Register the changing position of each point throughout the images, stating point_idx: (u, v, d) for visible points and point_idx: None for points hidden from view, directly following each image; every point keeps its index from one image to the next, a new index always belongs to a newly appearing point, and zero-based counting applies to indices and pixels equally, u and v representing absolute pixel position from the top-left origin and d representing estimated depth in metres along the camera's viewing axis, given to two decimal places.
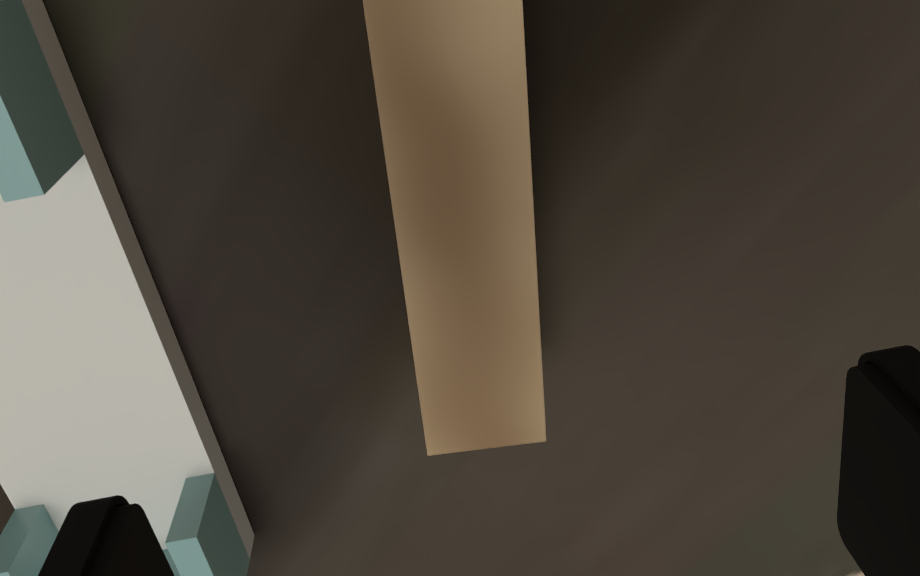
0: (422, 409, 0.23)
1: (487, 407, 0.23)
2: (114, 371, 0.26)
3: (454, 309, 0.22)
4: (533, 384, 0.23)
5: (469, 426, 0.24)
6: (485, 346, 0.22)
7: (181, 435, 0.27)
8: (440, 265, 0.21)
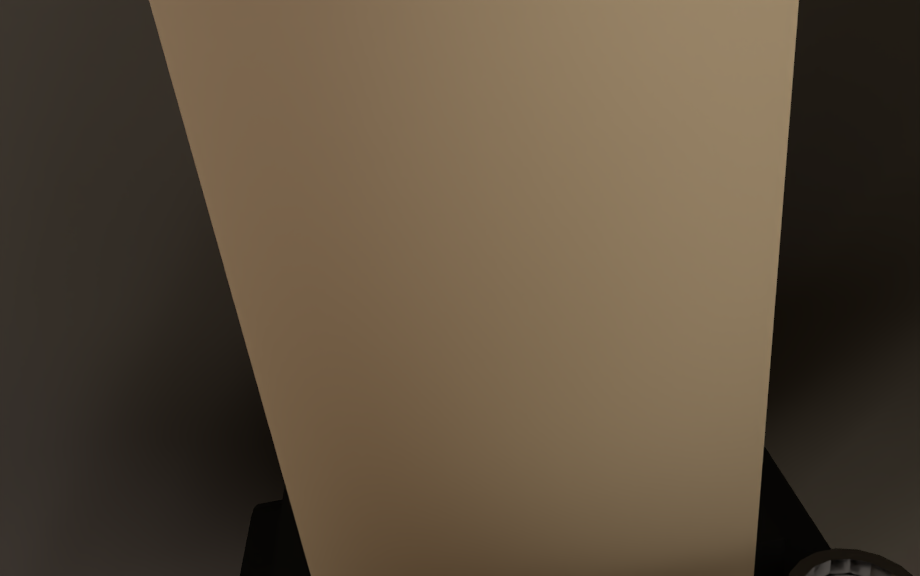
0: None
1: None
2: None
3: None
4: None
5: None
6: None
7: None
8: None
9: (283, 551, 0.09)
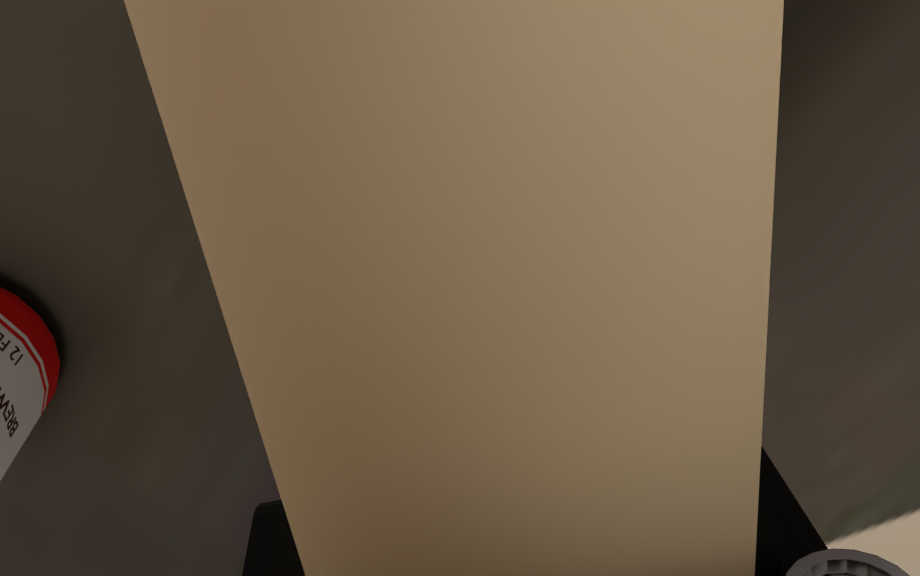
0: None
1: None
2: None
3: None
4: None
5: None
6: None
7: None
8: None
9: (285, 550, 0.09)
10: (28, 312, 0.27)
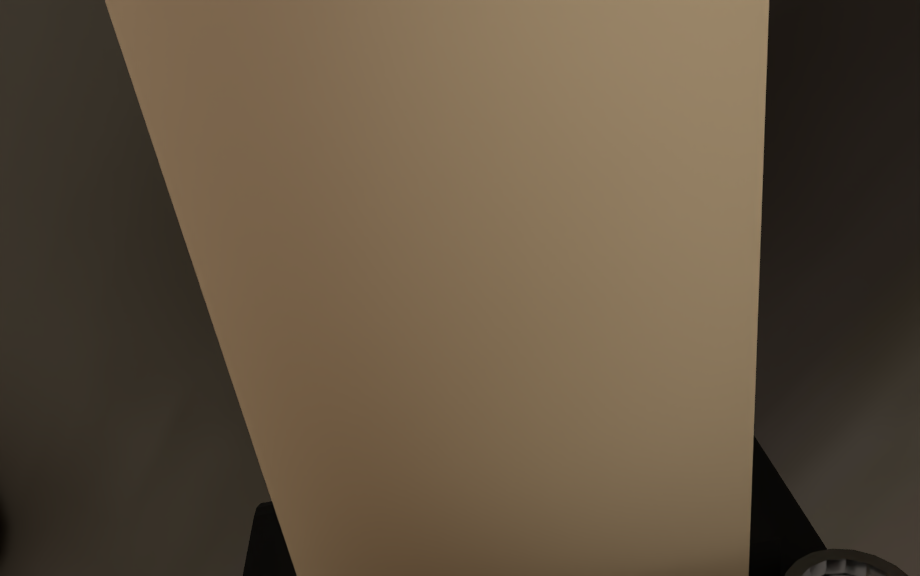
0: None
1: None
2: None
3: None
4: None
5: None
6: None
7: None
8: None
9: (286, 550, 0.09)
10: None
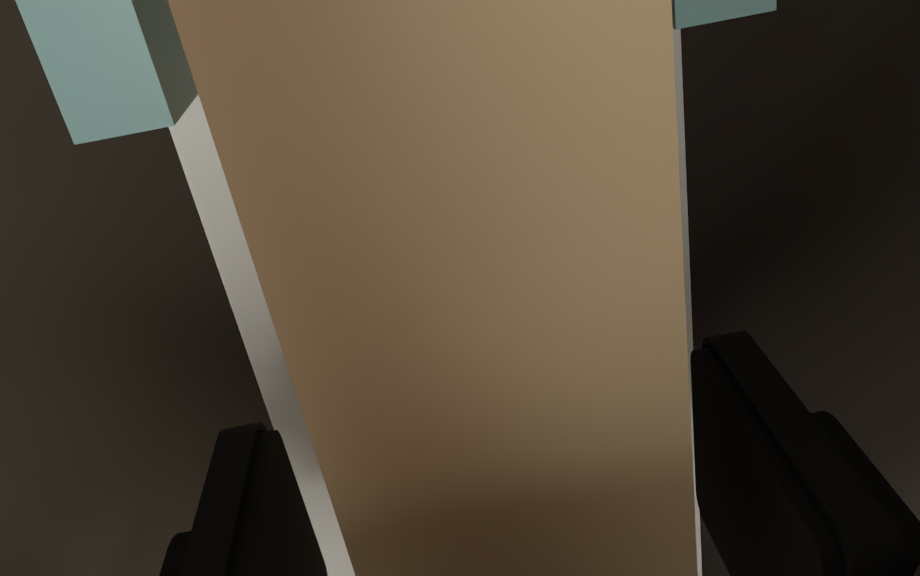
0: None
1: None
2: None
3: None
4: None
5: None
6: None
7: None
8: None
9: None
10: None
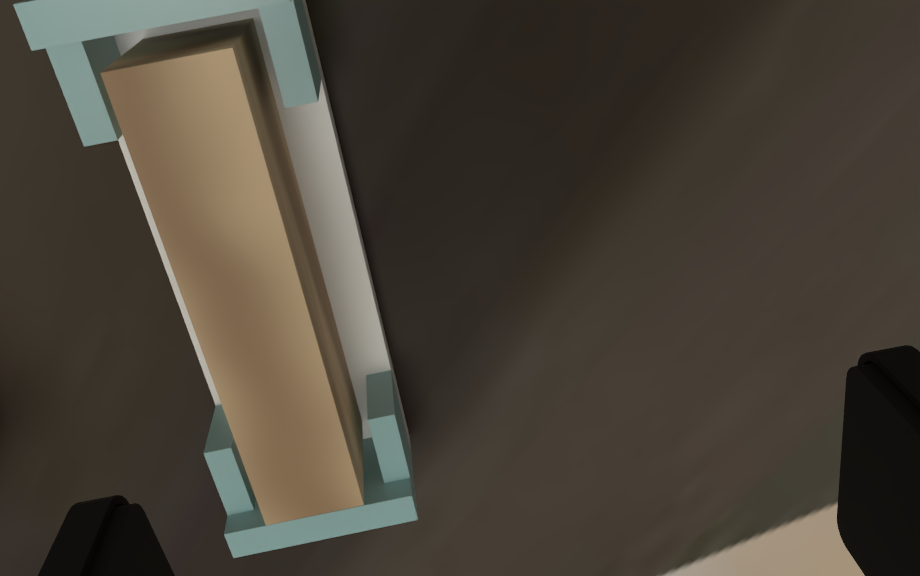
0: (253, 489, 0.28)
1: (308, 482, 0.28)
2: None
3: (264, 408, 0.27)
4: (342, 460, 0.28)
5: (296, 499, 0.29)
6: (296, 434, 0.27)
7: (367, 334, 0.32)
8: (245, 375, 0.26)
9: None
10: None
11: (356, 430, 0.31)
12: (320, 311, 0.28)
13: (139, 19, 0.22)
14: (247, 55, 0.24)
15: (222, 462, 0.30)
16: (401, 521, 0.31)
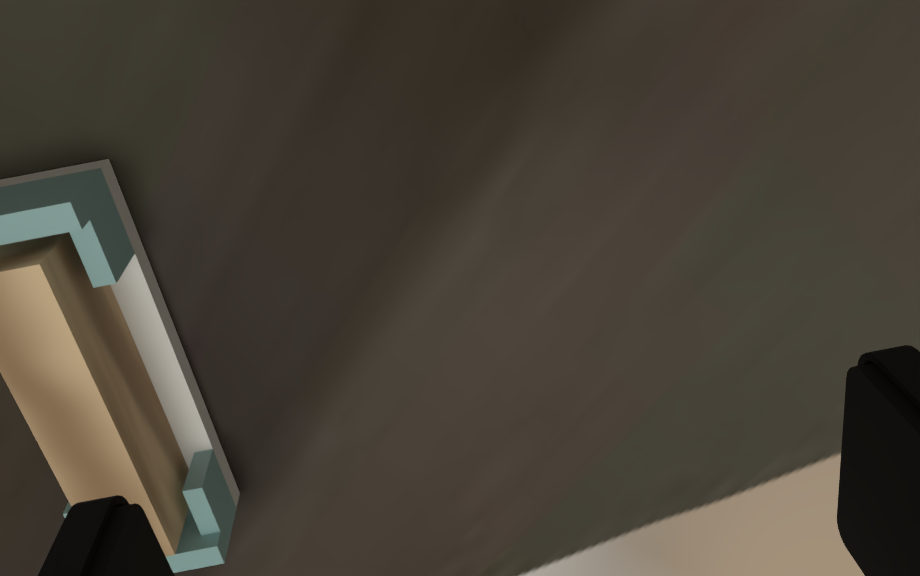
0: None
1: None
2: None
3: (92, 489, 0.38)
4: (154, 524, 0.39)
5: None
6: None
7: (191, 424, 0.42)
8: (75, 467, 0.37)
9: None
10: None
11: (180, 496, 0.42)
12: (138, 417, 0.39)
13: None
14: (62, 256, 0.34)
15: None
16: (212, 564, 0.42)
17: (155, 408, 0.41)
